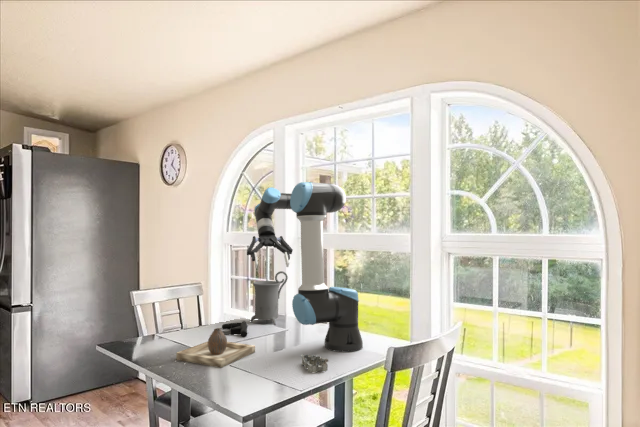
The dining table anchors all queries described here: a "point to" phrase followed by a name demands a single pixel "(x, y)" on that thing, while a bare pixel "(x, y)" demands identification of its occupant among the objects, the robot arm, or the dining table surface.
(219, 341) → the vase
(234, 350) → the tray
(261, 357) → the dining table surface
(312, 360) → the egg carton
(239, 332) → the door handle
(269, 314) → the mug
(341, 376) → the dining table surface
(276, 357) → the dining table surface
